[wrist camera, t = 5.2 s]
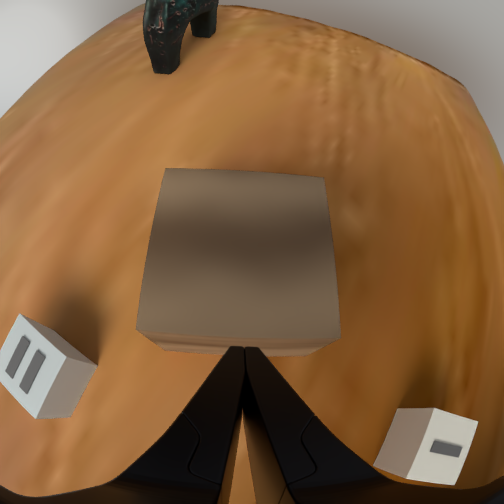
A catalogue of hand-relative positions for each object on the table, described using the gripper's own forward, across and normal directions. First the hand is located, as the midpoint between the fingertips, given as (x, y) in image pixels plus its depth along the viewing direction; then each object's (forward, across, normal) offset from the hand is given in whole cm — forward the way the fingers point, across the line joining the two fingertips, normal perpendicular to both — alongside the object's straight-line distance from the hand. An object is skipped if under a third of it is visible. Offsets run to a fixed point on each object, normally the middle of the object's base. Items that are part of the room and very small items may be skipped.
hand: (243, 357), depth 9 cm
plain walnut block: (+13, 0, +4) cm, 14 cm away
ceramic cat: (+41, +10, -22) cm, 48 cm away
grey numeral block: (+7, +13, +10) cm, 18 cm away
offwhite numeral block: (+4, -14, +13) cm, 20 cm away
